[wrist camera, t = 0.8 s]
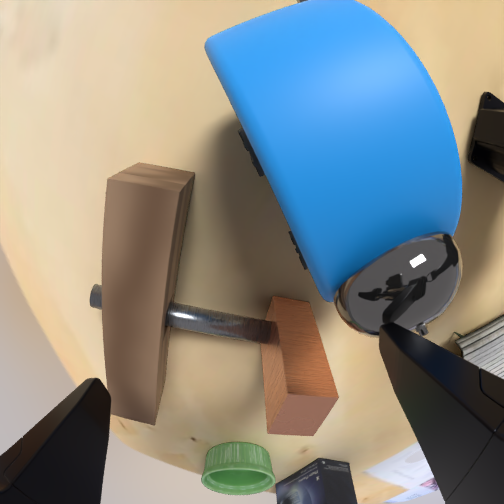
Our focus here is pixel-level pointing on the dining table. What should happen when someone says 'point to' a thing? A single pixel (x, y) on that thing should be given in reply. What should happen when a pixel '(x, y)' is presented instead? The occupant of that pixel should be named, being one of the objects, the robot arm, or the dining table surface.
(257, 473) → the ramekin
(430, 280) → the alarm clock
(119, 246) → the beam
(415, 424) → the robot arm
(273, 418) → the pin
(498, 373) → the mat
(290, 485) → the small box
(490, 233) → the dining table surface
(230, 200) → the dining table surface
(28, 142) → the dining table surface
